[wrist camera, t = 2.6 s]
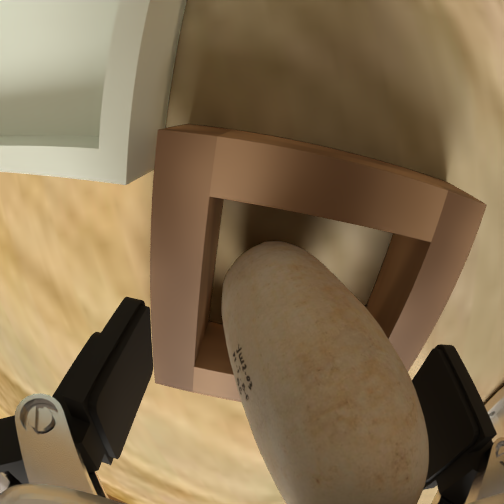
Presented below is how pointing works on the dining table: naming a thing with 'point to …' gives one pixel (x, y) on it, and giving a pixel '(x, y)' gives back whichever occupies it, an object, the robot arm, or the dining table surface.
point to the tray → (85, 85)
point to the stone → (321, 383)
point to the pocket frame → (302, 201)
